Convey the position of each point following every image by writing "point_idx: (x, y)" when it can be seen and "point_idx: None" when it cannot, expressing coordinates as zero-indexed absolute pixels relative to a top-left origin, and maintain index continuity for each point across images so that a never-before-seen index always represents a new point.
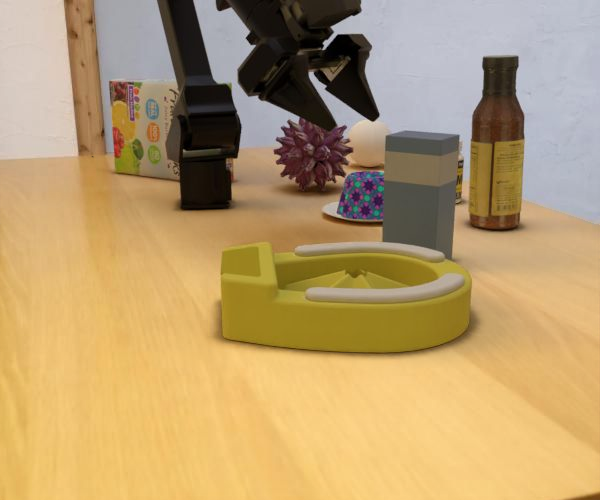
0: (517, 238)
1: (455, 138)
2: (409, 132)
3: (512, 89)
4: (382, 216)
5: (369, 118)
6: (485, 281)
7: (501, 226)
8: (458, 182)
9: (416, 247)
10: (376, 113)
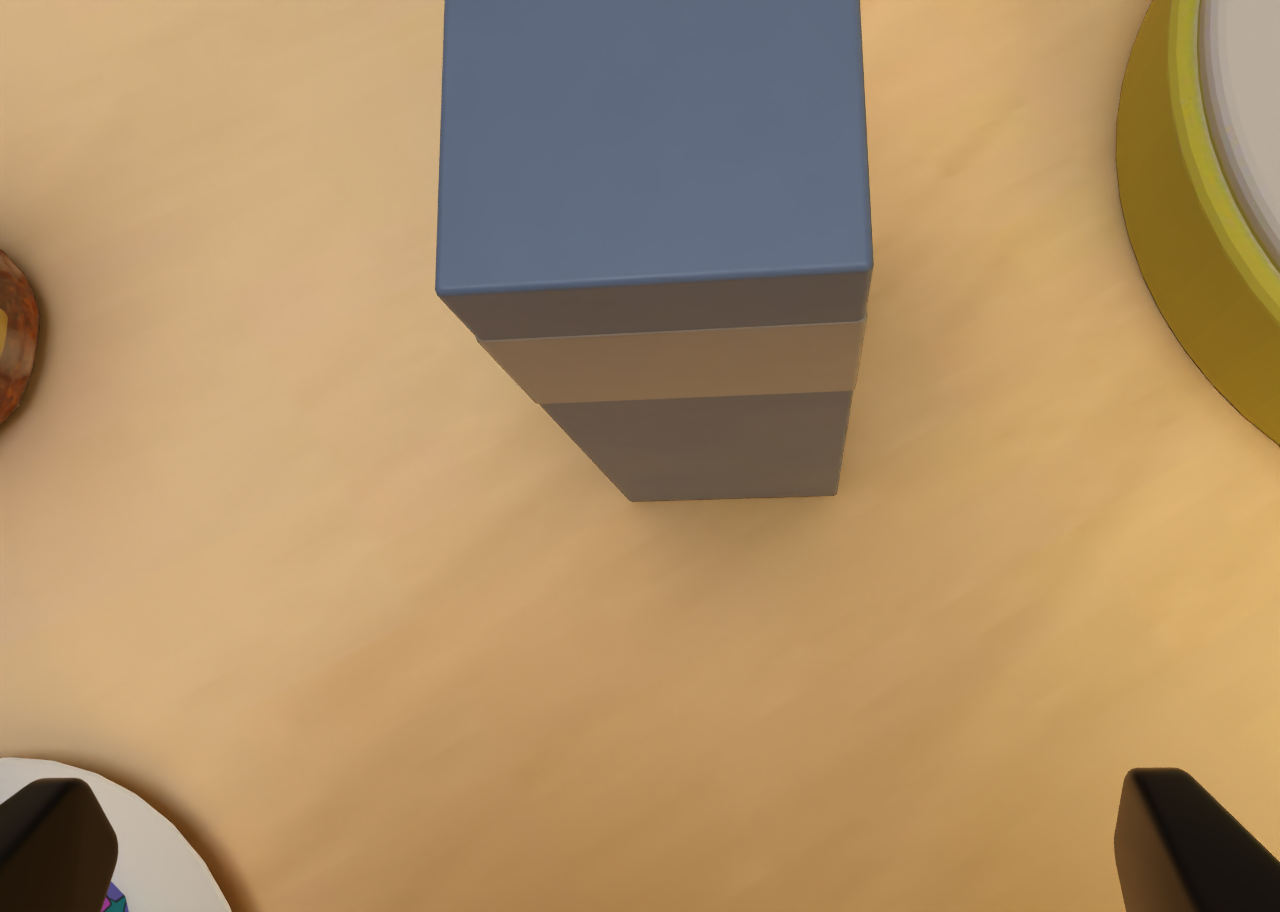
0: (124, 170)
1: None
2: (556, 185)
3: None
4: None
5: (97, 896)
6: None
7: (18, 270)
8: None
9: (1251, 27)
10: (61, 806)
